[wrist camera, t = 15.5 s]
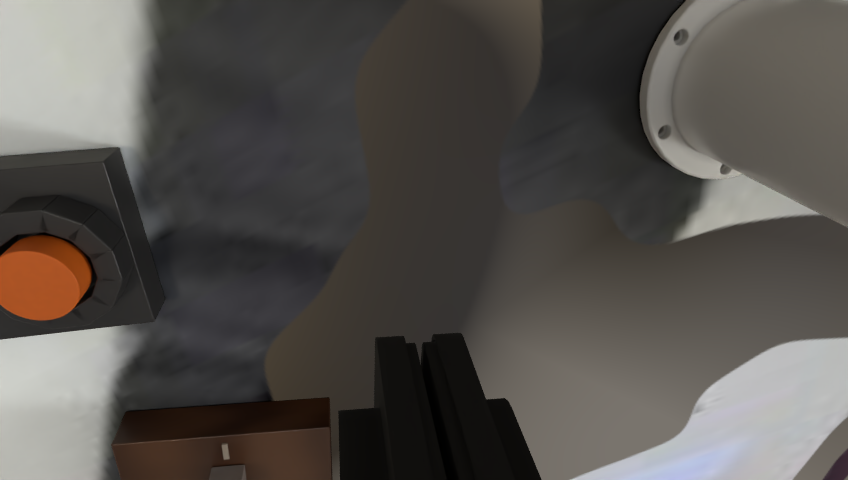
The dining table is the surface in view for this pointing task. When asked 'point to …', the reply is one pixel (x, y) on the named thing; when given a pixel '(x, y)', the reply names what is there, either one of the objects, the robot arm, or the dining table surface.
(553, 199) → the dining table surface
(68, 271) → the switch
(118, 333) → the dining table surface
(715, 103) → the robot arm
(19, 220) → the switch base
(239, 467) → the dial
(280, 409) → the dial panel
